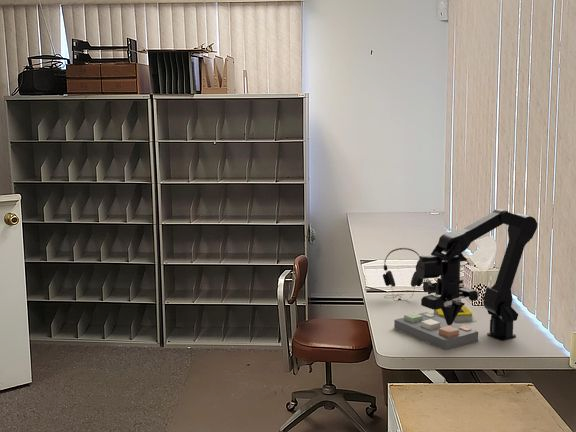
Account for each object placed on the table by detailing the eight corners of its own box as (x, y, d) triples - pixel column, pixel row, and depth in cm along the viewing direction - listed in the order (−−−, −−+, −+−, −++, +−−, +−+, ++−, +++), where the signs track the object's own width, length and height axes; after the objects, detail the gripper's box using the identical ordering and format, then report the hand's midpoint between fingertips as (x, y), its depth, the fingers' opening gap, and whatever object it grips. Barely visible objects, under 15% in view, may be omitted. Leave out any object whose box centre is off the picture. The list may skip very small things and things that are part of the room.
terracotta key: (458, 335, 204) (458, 329, 204) (448, 338, 202) (448, 332, 201) (448, 332, 207) (448, 325, 207) (438, 334, 205) (439, 328, 205)
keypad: (478, 340, 207) (478, 330, 206) (445, 349, 199) (445, 339, 199) (425, 320, 226) (426, 311, 226) (394, 328, 219) (394, 318, 218)
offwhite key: (440, 328, 211) (440, 322, 210) (430, 331, 208) (430, 325, 208) (430, 324, 214) (430, 319, 214) (420, 327, 212) (421, 321, 212)
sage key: (422, 321, 217) (422, 315, 217) (412, 324, 215) (412, 318, 215) (413, 318, 221) (413, 312, 221) (404, 320, 219) (404, 314, 218)
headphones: (421, 294, 256) (422, 244, 252) (424, 303, 245) (425, 250, 241) (381, 294, 257) (382, 243, 254) (382, 303, 246) (383, 250, 243)
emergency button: (477, 310, 223) (433, 311, 223) (477, 323, 224) (433, 324, 224) (469, 302, 232) (427, 303, 232) (469, 314, 233) (427, 315, 233)
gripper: (453, 265, 213) (452, 312, 216) (409, 274, 203) (408, 323, 206) (479, 273, 204) (478, 321, 206) (434, 282, 194) (433, 333, 197)
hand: (449, 325), depth 204 cm, fingers closed
